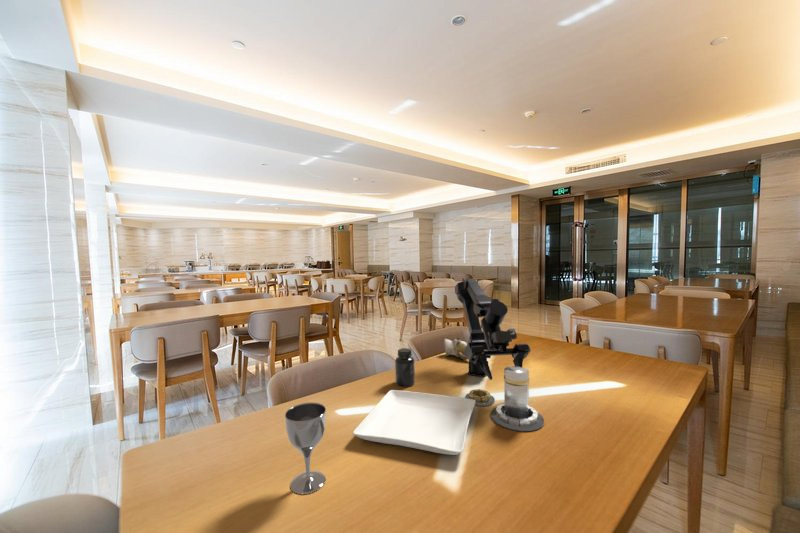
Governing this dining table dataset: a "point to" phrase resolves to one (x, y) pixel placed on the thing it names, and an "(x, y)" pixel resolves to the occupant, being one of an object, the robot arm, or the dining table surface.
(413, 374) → the supplement bottle
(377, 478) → the dining table surface
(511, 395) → the cylinder
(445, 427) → the square plate
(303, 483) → the wine glass
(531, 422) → the collar
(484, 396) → the brass collar
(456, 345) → the ceramic sculpture
